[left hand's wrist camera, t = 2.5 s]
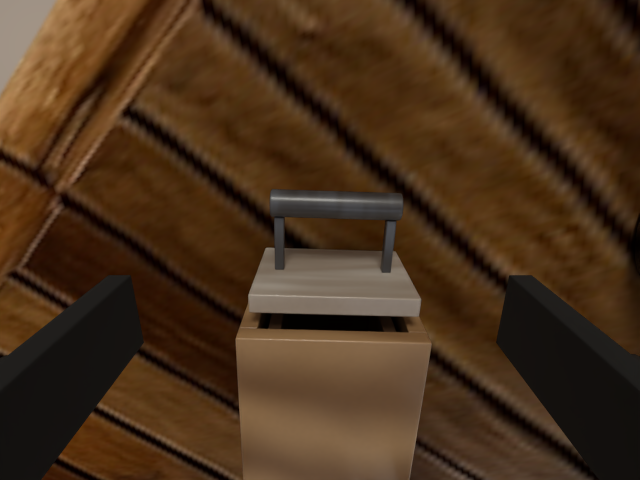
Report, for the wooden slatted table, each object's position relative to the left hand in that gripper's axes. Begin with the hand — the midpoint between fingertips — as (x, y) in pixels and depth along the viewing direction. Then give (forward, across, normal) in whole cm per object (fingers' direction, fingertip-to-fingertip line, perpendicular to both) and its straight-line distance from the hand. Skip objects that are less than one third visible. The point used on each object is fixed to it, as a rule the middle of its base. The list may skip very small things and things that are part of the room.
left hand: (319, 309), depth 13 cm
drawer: (+14, -1, +10) cm, 18 cm away
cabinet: (+15, 0, +16) cm, 22 cm away
